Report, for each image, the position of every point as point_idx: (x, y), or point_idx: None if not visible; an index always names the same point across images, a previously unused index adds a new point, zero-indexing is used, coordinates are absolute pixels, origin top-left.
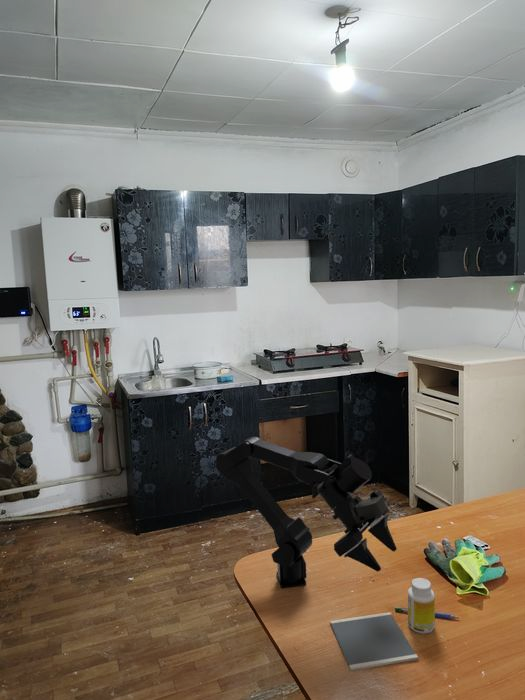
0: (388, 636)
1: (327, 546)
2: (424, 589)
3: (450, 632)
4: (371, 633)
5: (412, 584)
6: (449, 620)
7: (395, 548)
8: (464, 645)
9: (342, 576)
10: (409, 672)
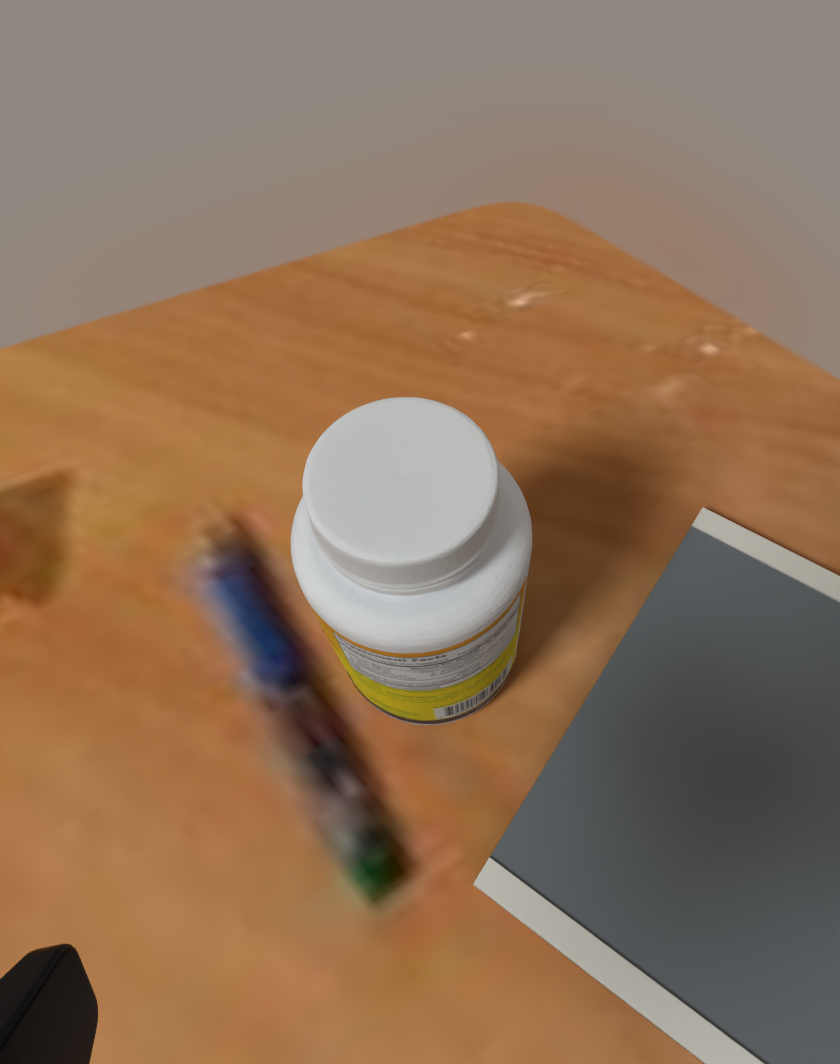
0: (708, 733)
1: None
2: (463, 417)
3: None
4: (793, 852)
5: (480, 526)
6: (265, 549)
7: (58, 962)
8: None
9: None
10: (814, 501)
